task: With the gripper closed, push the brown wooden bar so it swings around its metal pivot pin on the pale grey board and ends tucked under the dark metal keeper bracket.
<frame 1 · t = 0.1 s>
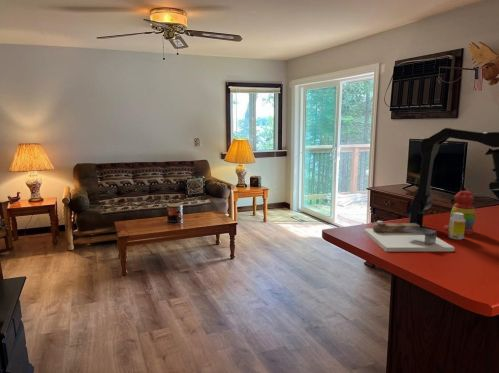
board: (405, 240, 145), on the table
keeper: (418, 244, 140), resting on board
supplement bottle: (455, 238, 149), on the table
brown wooden bar: (395, 227, 152), point 3 cm above the table, hinge at 0.0°
stacking bear: (460, 231, 160), on the table
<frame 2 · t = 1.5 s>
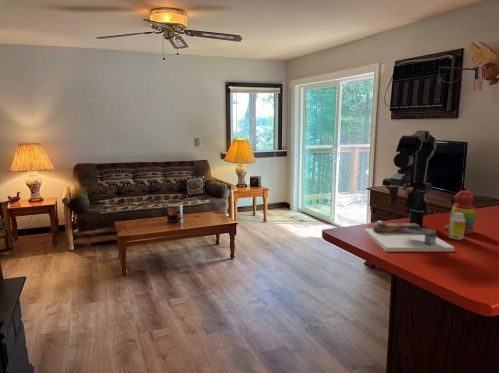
hand: (404, 205, 149), 13 cm above the table, tool pointing down, fingers open, 9 cm apart
nothing on the table moved.
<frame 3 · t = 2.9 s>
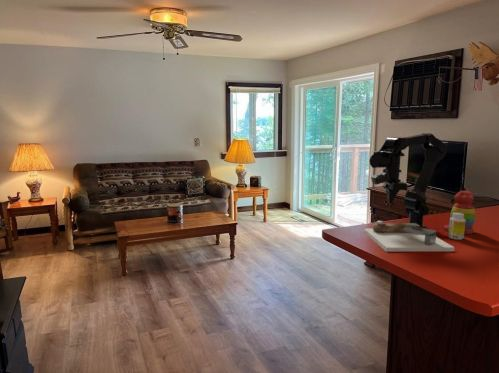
hand: (390, 202, 159), 12 cm above the table, tool pointing down, fingers closed
nothing on the table moved.
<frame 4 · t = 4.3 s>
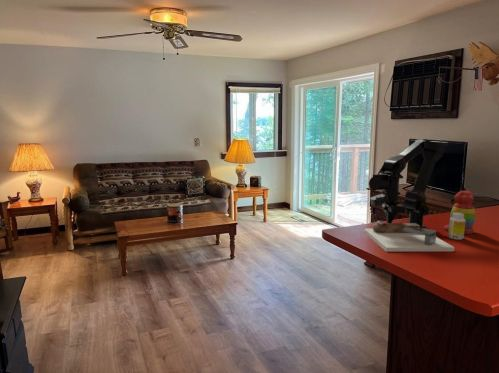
hand: (388, 224, 160), 3 cm above the table, tool pointing down, fingers closed
nothing on the table moved.
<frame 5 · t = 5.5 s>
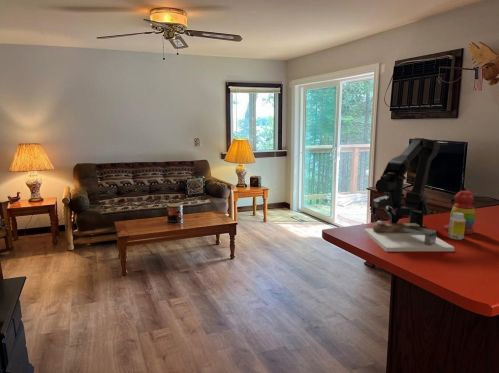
hand: (392, 226, 156), 3 cm above the table, tool pointing down, fingers closed
brown wooden bar: (395, 227, 152), point 3 cm above the table, hinge at 0.0°, touching gripper
everything else where it was.
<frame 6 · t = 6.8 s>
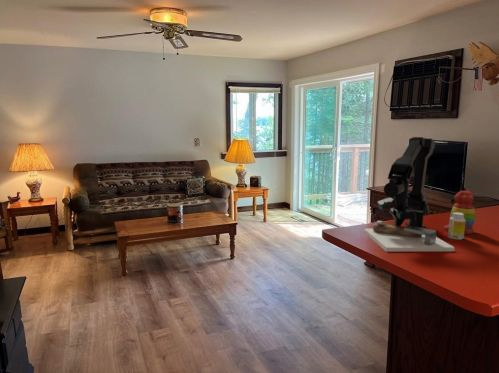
hand: (397, 229, 152), 3 cm above the table, tool pointing down, fingers closed
brown wooden bar: (396, 229, 149), point 3 cm above the table, hinge at -29.8°, touching gripper
everything else where it was.
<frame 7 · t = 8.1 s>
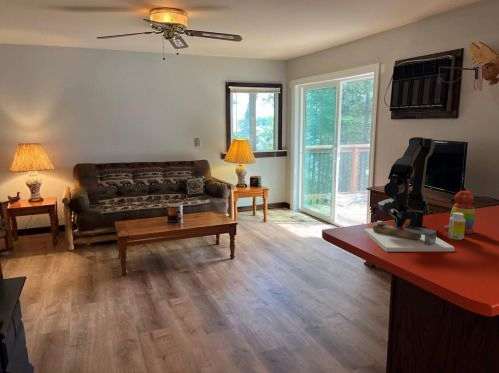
hand: (397, 230, 151), 2 cm above the table, tool pointing down, fingers closed
brown wooden bar: (395, 230, 147), point 3 cm above the table, hinge at -46.1°
everything else where it was.
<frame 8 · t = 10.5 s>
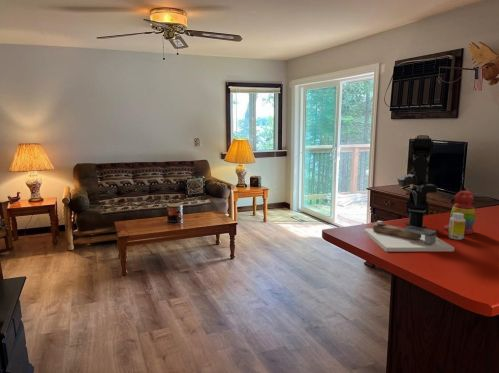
hand: (417, 205, 153), 12 cm above the table, tool pointing down, fingers closed
nothing on the table moved.
at the end: brown wooden bar at -46° (first picture: +0°) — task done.
